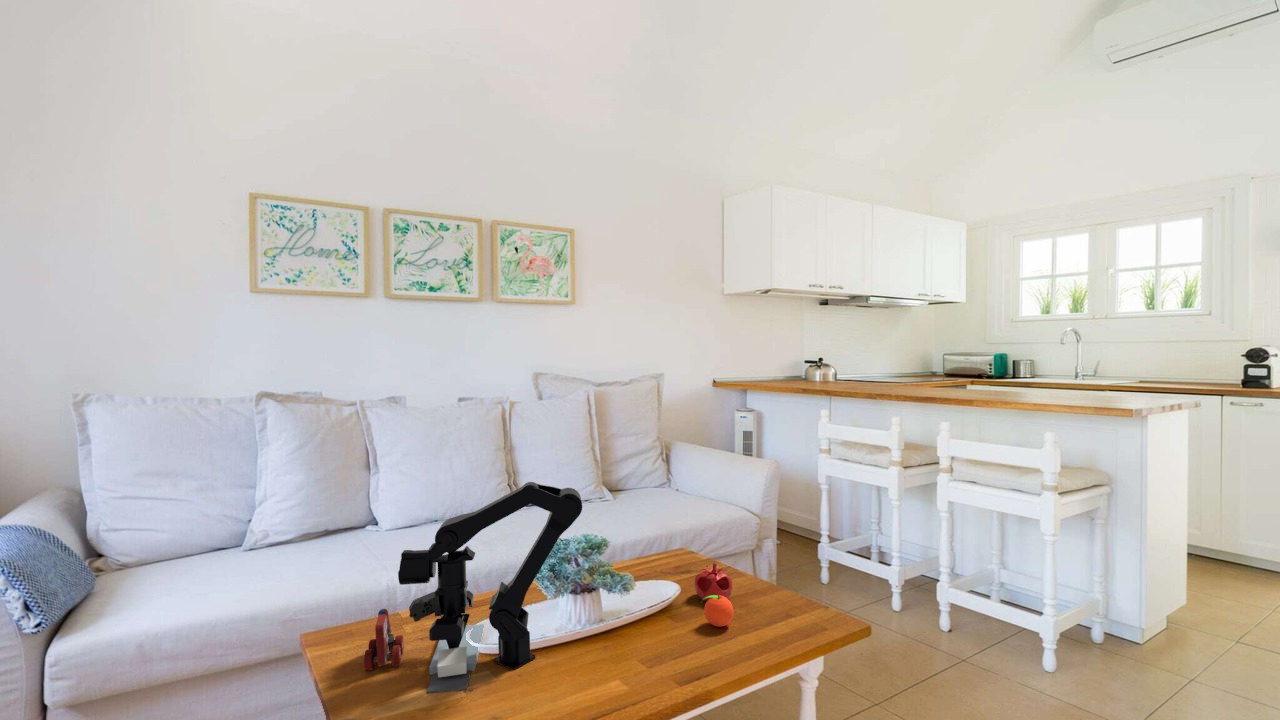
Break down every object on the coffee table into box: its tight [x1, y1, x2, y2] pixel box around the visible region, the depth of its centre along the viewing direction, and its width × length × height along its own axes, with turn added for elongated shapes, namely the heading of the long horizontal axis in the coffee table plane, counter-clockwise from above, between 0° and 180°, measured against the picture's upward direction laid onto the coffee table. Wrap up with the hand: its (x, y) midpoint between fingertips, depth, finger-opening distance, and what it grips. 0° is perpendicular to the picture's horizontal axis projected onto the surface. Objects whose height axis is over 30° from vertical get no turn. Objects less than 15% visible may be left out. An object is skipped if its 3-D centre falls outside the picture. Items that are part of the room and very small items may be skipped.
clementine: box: [701, 595, 735, 628], centre depth 150 cm, size 8×7×7 cm
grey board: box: [428, 623, 485, 676], centre depth 140 cm, size 19×9×2 cm, turn 8°
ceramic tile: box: [437, 646, 467, 678], centre depth 129 cm, size 6×6×2 cm
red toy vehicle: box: [363, 608, 405, 671], centre depth 136 cm, size 7×12×10 cm, turn 15°
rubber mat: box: [426, 670, 472, 694], centre depth 127 cm, size 7×8×1 cm
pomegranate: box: [693, 562, 734, 602], centre depth 167 cm, size 10×10×9 cm
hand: (453, 654), depth 134 cm, fingers closed
